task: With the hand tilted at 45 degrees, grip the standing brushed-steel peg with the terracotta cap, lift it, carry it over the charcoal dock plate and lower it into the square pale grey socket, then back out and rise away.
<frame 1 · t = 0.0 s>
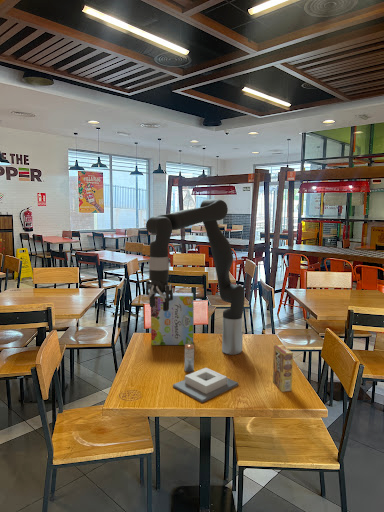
hand: (158, 308, 146), 29 cm above the table, tool pointing down, fingers open, 8 cm apart
candy box: (281, 386, 145), on the table
snack box: (172, 343, 191), on the table
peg: (189, 370, 159), on the table
dock: (205, 386, 144), on the table
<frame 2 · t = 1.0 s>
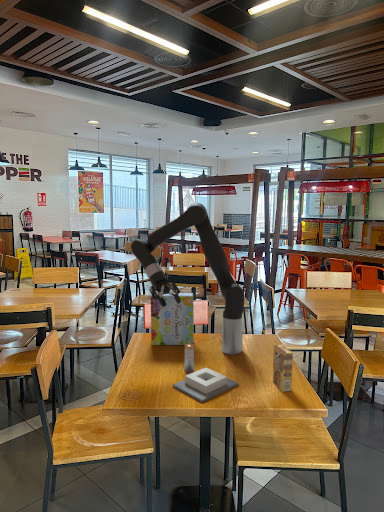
hand: (172, 304, 163), 27 cm above the table, tool tilted 45°, fingers open, 8 cm apart
nothing on the table moved.
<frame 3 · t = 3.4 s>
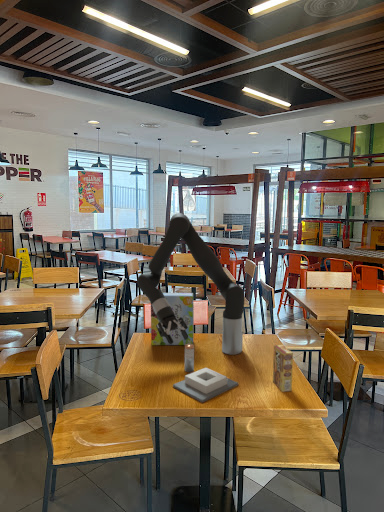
hand: (179, 341, 162), 11 cm above the table, tool tilted 45°, fingers open, 8 cm apart
nothing on the table moved.
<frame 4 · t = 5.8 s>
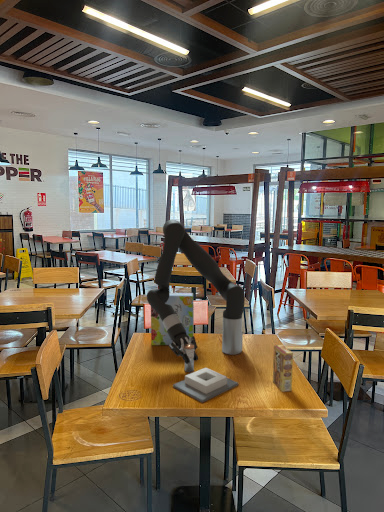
hand: (192, 361, 157), 5 cm above the table, tool tilted 45°, fingers closed on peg, 4 cm apart
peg: (189, 370, 159), on the table, touching gripper
everything else where it was.
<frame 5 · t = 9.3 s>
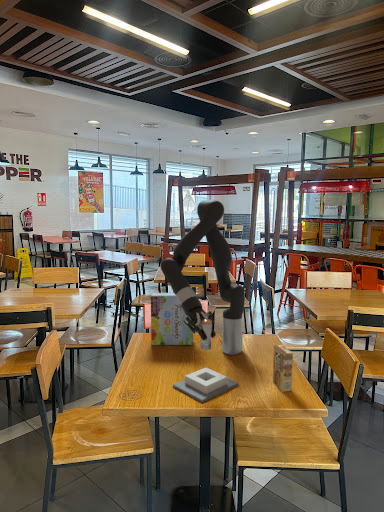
hand: (209, 337, 141), 20 cm above the table, tool tilted 45°, fingers closed on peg, 4 cm apart
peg: (205, 348, 143), point 15 cm above the table, touching gripper
everything else where it was.
when the fingers open (6 cm above the table, at t = 12.9 s): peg stays where it is, resting on dock.
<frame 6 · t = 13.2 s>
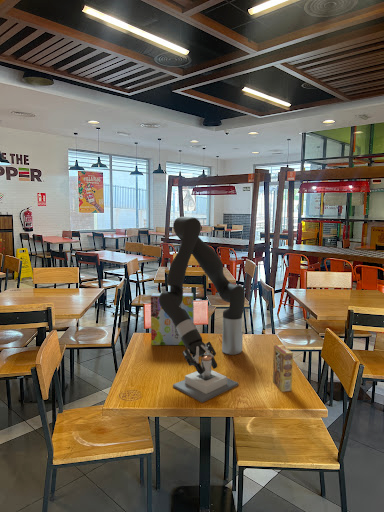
hand: (209, 370, 143), 7 cm above the table, tool tilted 45°, fingers open, 7 cm apart
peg: (205, 383, 144), point 1 cm above the table, touching dock
everything else where it was.
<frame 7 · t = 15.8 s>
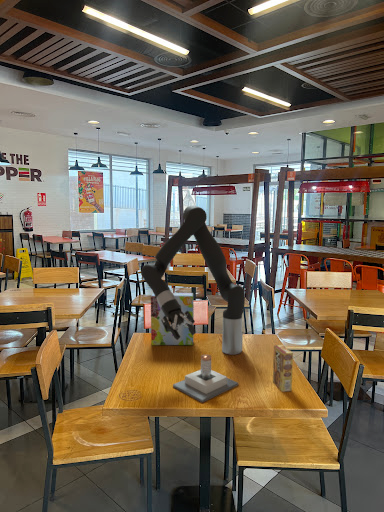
hand: (186, 336, 151), 17 cm above the table, tool tilted 45°, fingers open, 8 cm apart
nothing on the table moved.
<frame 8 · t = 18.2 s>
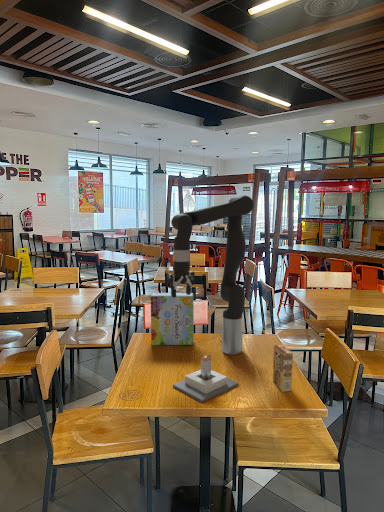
hand: (181, 295, 165), 30 cm above the table, tool pointing down, fingers open, 8 cm apart
nothing on the table moved.
at the end: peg 0.1 cm off-centre on the dock, point 1.0 cm above the dock's base; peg tilted 0°; the gripper is holding nothing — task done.
